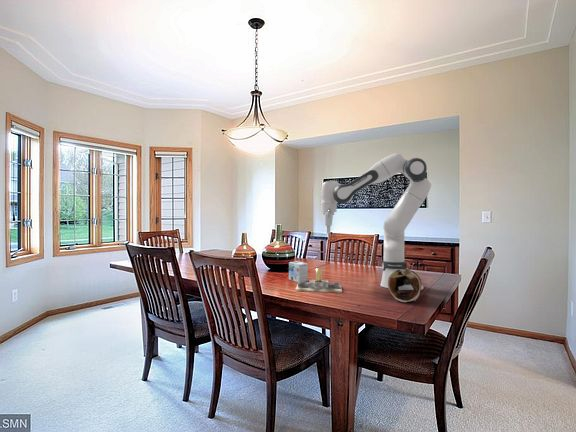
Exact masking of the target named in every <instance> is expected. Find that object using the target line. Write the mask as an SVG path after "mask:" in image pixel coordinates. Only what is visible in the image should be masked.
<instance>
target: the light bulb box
mask: <svg viewBox="0 0 576 432" xmlns="http://www.w3.org/2000/svg"><path fill="white" fill-rule="evenodd" d="M308 271H309V263H307V262H304V261H303V262H302V261H298V260H296V261H290V262H288V280H290V281H293V282H295V283H299V282H300V281H304V282H308V281H309V278H308V277H309V276H308V275H309V273H308Z"/></svg>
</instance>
